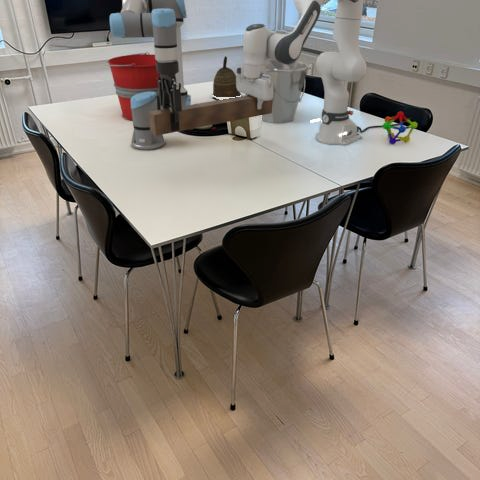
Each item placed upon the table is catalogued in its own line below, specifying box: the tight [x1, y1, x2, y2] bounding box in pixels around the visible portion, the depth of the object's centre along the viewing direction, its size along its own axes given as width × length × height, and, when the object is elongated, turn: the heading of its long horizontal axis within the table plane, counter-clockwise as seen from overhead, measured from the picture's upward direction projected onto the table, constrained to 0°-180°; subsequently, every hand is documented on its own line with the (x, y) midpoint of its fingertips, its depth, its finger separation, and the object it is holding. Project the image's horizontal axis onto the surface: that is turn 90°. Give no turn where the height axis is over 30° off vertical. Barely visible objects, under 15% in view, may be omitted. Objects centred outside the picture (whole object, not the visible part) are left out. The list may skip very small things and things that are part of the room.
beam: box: [148, 95, 273, 136], centre depth 169 cm, size 52×5×7 cm, turn 125°
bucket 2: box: [261, 59, 309, 124], centre depth 236 cm, size 30×30×28 cm
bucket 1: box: [104, 51, 161, 121], centre depth 240 cm, size 35×35×30 cm
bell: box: [212, 56, 242, 97], centre depth 278 cm, size 19×26×20 cm
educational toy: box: [382, 110, 418, 145], centre depth 207 cm, size 16×13×15 cm
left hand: (172, 128), depth 161 cm, fingers closed on beam, 5 cm apart
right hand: (254, 107), depth 178 cm, fingers closed on beam, 4 cm apart
